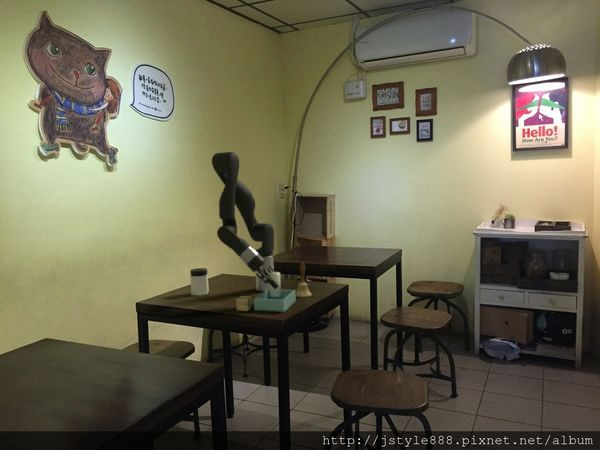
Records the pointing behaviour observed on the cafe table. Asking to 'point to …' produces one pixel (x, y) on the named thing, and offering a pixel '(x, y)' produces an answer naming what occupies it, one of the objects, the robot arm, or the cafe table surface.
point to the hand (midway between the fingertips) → (278, 286)
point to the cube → (244, 303)
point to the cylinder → (276, 278)
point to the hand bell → (302, 284)
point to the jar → (199, 281)
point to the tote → (274, 301)
